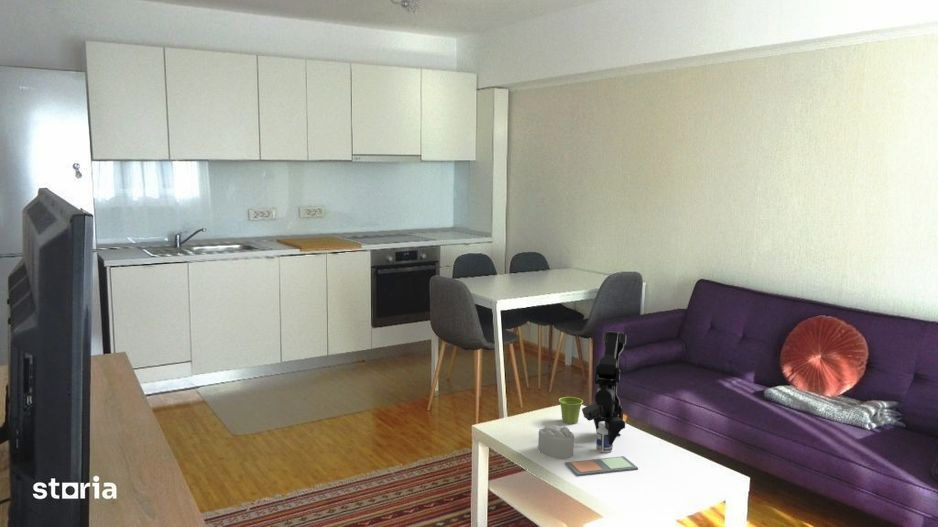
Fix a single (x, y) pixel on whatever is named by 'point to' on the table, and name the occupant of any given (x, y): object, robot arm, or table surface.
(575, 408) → the plant pot
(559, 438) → the lumpy-topped squat cylinder
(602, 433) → the pill bottle
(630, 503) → the table surface
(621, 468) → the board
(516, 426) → the table surface
